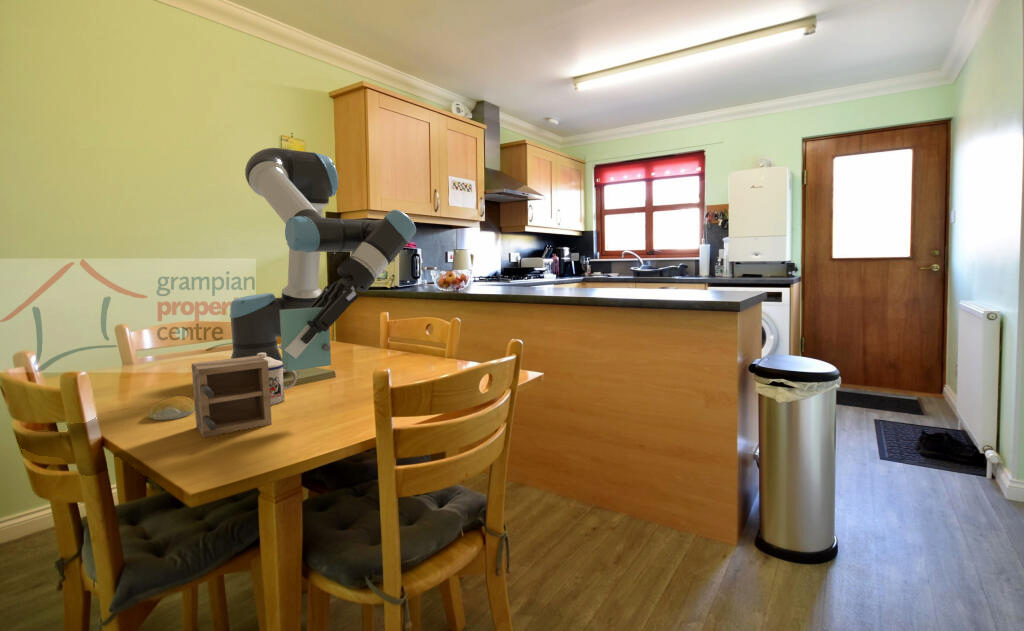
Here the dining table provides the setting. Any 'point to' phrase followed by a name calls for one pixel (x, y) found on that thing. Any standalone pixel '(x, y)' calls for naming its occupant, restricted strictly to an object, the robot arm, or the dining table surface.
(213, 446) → the dining table surface
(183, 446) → the dining table surface
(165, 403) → the bread roll
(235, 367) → the cabinet
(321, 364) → the door
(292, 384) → the teacup with lid
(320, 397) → the dining table surface
